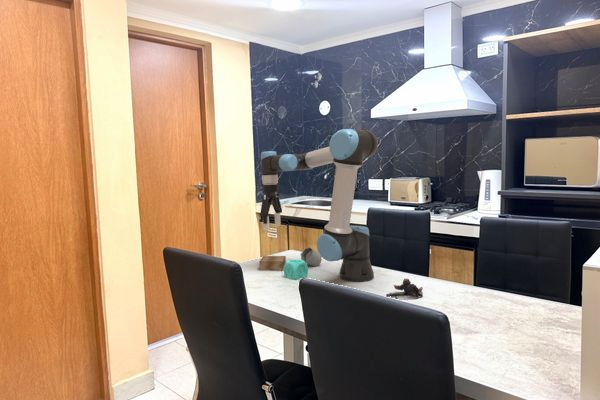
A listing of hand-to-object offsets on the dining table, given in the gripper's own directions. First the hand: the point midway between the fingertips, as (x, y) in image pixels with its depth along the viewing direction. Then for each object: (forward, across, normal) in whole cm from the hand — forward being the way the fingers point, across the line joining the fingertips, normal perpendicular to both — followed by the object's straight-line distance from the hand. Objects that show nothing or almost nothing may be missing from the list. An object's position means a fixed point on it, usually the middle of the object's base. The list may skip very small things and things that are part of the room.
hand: (272, 228), depth 205 cm
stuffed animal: (+24, +18, +67) cm, 74 cm away
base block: (+21, 0, -1) cm, 21 cm away
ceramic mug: (+21, -11, +14) cm, 28 cm away
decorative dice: (+21, +11, +15) cm, 28 cm away
